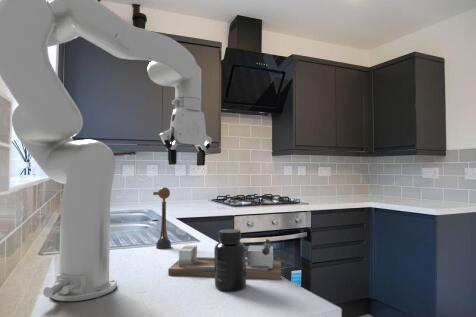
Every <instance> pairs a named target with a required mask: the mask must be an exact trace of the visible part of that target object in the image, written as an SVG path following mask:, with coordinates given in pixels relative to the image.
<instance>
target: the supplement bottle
mask: <svg viewBox="0 0 476 317" xmlns="http://www.w3.org/2000/svg"><path fill="white" fill-rule="evenodd" d="M241 234H242V232H241V230H240V229H233V228H226V229H221V230H218V241H219V242H218V243H216V244H215V246H214V251H213V252H214V260H215V277H214V286H215V288H216V289H217V290H219V291H220V292H221V291H222V292H227V293H228V292H229V293H230V292H237V291H241V290H243V289H244V288H245V287H246V286H247V278H246V257H247V254H246V245H245V244H244V243H243V242H241V240H242V237H241Z"/></svg>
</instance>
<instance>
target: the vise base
mask: <svg viewBox="0 0 476 317" xmlns="http://www.w3.org/2000/svg"><path fill="white" fill-rule="evenodd" d="M281 262H282V261H281V260H273V269H268V268H253V267H247V258H246V279H258V280H259V279H261V280H262V279H263V280H264V279H265V280H282V263H281ZM167 270H168V271H167V273H168V274H167V275H168V276H184V277H188V276H189V277H206V278H207V277H208V278H209V277H210V278H215V260H214V257H208V256H205V257H204V256H198V245H197V244H195V245H193V244H192V245H191V244H186V245H184V246H183V247H181V248H180V249H179V250H178V260H177V261H176V262H174V263H173V264H172V265H171V266H170V267H169V268H167Z"/></svg>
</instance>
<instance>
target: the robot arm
mask: <svg viewBox="0 0 476 317" xmlns="http://www.w3.org/2000/svg"><path fill="white" fill-rule="evenodd" d="M79 37H81V38H83V39H84V40H86V41H88V42H90V43H92V44H93V45H94V46H96V47H99V48H100V49H102V50H104V51H106V52H107V53H108V54H110V55H112V56H114V57H116V58H117V59H123V60H131V61H133V60H134V61H137V60H139V61H150V62H149V64H148V66H147V74H148V77H149V79H150V80H151V81H152V82H153V83H154V84H156V85H159V86H163V87H172V88H175V89H174V91H175V92H174V95H175V96H174V99H172V100H171V105H174V108H173V110H172V113H171V118H170V125H169V129H167V130H165V131H162V132H161V133H160V134H159V137H160V139H161V142H162V145H163V146H164V147H165V150H166V151H167V161H168V165H170V166H171V165H173V166H174V165H176V164H177V158H178V157H177V156H178V155H177V154H178V153H177V152H178V151H177V149H176V148H177V146H178V145H179V146H190V147H195V148H196V149H197V151H198V152H196V166H198V167H200V166H201V167H203V166H205V164H206V163H205V162H206V152H208V149H210V148H211V144H212V141H213V138H212V137H211V136H209V135H208V134H207V131H206V130H207V129H206V127H207V126H206V120H205V113H204V112H203V111H201V110H202V68H201V67H200V66H199V65H198V64H197V61H196V58H195V57H194V56H193V54H192V53H191V52H190V51H189V50H188V49H187V48H186V47H184V46H183V45H182V44H180V43H179V42H178V41H177V40H175V39H173V38H171V37H169V36H167V35H165V34H162V33H158V32H155V31H152V30H148V29H145V28H140V27H137V26H135V25H132V24H131V23H129V21H127V20H125V19H124V18H123V17H121V16H120V15H119V14H118V13H115V11H113V10H111V9H110V8H108V7H107V6H106V5H104V4H103V3H101V2H100V1H98V0H50V1H48V0H1V1H0V78H1V79H2V81H3V83H4V84H5V86H6V87H7V89H8V90H9V92H10V93H11V95H12V97H13V98H14V100H15V102H16V103H17V104H18V105H17V106H16V107H15V109H14V110H13V111H12V112H13V113H12V116H11V123H12V124H11V125H12V129H13V131H14V134H15V135H16V137H17V138H18V140H19V141H20V143H21V144H22V145H23V147H24V148H25V149H26V151H27V152H28V153H29V154H30V156H31V158H32V159H33V160H34V161H35V162H36V164H37V165H38V166H39V168H40V169H41V171H43V173H44V174H45V175H46V176H47V177H48V178H49V179H51V180H53V182H56V183H59V184H64V188H63V193H62V196H61V200H60V201H61V202H60V210H59V211H60V214H59V215H60V218H59V219H60V222H59V224H60V227H59V258H58V259H59V260H58V262H59V266H58V267H59V268H58V274H57V275H56V281H55V282H54V283H52V284H50V285H47V286H46V287H45V288H44V289H43V292H42V293H43V295H44V297H45V298H51V299H53V300H55V301H59V302H80V301H85V300H86V301H88V300H92V299H96V298H99V297H102V296H105V295H108V294H109V293H112V292H113V291H114V290H115V289H116V288H117V285H118V284H117V279H116V278H114V277H112V276H110V248H111V247H110V246H111V245H110V244H111V243H110V242H111V239H110V238H111V237H110V236H111V235H110V234H111V195H112V187H113V182H114V178H115V172H116V158H115V154H114V152H113V150H112V149H111V148H110V147H109V145H107V144H105V143H104V142H102V141H100V140H94V139H82V140H74V139H73V137H75V136H77V135H78V134H79V133H80V132H81V130H82V129H83V125H84V119H83V116H82V113H81V111H80V109H79V107H78V106H77V104H76V103H75V102H74V99H73V98H72V96H71V95H70V93H69V92H68V90H67V89H66V87H65V86H64V84H63V82H62V81H61V79H60V78H59V76H58V75H57V73H56V71H55V69H54V66H53V65H52V62H51V60H50V57H49V56H50V55H49V50H48V49H49V48H50V47H53V46H57V45H61V44H65V43H68V42H70V41H72V40H74V39H77V38H79ZM168 136H169V139H168Z"/></svg>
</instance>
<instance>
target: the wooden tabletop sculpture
mask: <svg viewBox="0 0 476 317" xmlns="http://www.w3.org/2000/svg"><path fill="white" fill-rule="evenodd" d="M152 195H153V196H158V197H159V198H160V199H162V201H161V226H160V235H159V239H158V240H157V241H156V245H155V248H156V250H157V249H158V250H168V249H170V248H172V243H171V240H170V239H169V238H168V232H167V201H166V199H168V198H169V197H170V195H171V190H169V188H168V187H165V186H164V187H161V188H160V189H159V190H158V191H153V193H152Z"/></svg>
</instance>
